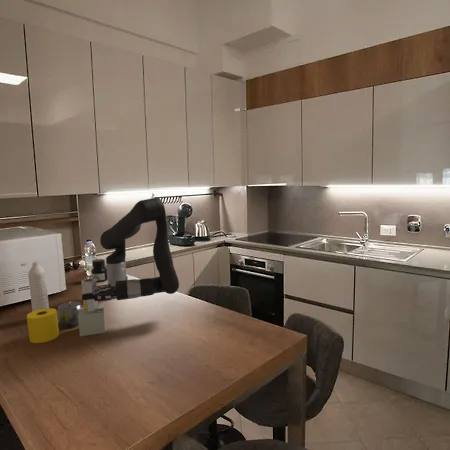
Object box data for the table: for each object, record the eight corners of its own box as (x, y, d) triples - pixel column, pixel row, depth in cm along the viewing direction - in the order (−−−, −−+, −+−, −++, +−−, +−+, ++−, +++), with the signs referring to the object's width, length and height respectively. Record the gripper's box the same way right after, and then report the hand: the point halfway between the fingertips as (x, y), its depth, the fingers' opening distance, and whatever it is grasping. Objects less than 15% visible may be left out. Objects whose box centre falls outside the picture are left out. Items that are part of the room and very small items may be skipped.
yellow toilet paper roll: (64, 332, 138) (62, 309, 137) (45, 344, 129) (42, 319, 128) (43, 330, 141) (41, 307, 140) (23, 341, 132) (20, 317, 130)
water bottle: (50, 314, 158) (44, 259, 155) (50, 319, 152) (44, 262, 149) (27, 318, 154) (21, 261, 151) (26, 323, 148) (20, 265, 145)
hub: (82, 318, 152) (80, 296, 151) (84, 325, 144) (82, 302, 143) (59, 322, 148) (56, 300, 147) (60, 330, 140) (57, 307, 139)
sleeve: (98, 307, 142) (96, 277, 140) (98, 311, 137) (95, 281, 135) (84, 308, 140) (82, 279, 139) (83, 313, 135) (80, 282, 134)
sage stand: (105, 323, 145) (103, 301, 144) (105, 332, 137) (103, 308, 136) (81, 327, 143) (79, 304, 141) (79, 336, 134) (77, 312, 133)
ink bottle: (88, 282, 206) (86, 262, 204) (97, 278, 215) (95, 258, 213) (103, 282, 204) (101, 262, 202) (111, 278, 212) (110, 258, 211)
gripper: (126, 275, 148) (83, 280, 143) (128, 285, 135) (80, 291, 130) (128, 293, 149) (84, 298, 144) (129, 304, 136) (82, 310, 131)
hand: (82, 295), depth 137 cm, fingers closed on sleeve, 5 cm apart
